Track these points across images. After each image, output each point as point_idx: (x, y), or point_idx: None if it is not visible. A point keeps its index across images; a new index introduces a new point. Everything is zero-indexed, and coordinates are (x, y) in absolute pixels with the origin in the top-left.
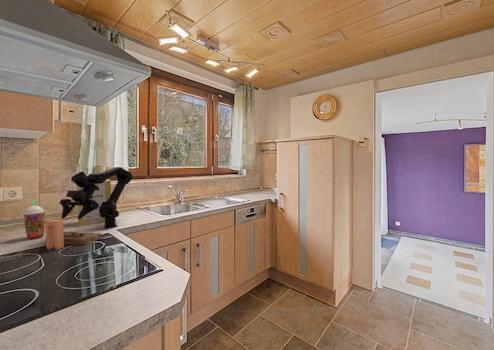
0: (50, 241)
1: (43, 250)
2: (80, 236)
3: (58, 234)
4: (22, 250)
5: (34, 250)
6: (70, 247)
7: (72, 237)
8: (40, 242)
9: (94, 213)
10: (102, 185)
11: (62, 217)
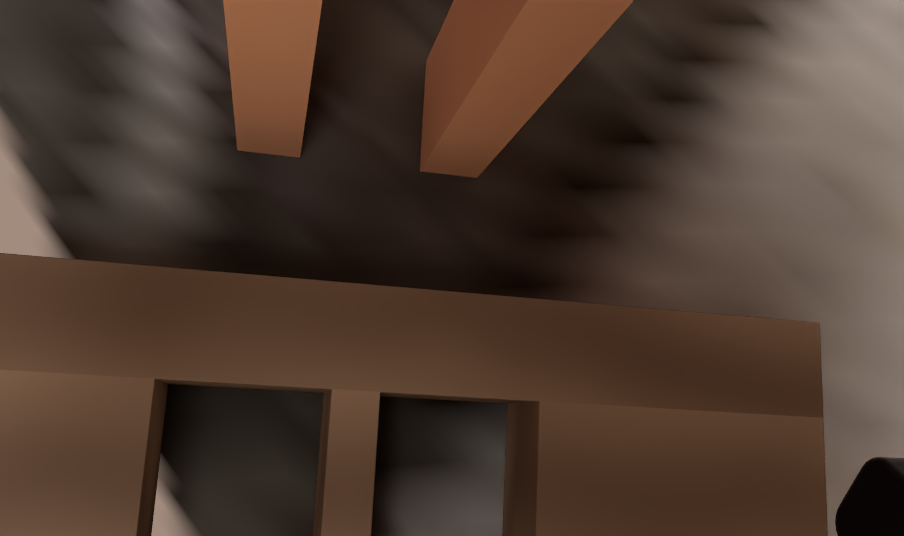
0: (454, 29)
1: None
2: (125, 486)
3: None
4: (786, 16)
5: None
6: (83, 130)
7: (327, 454)
8: (878, 361)
9: None
10: None
11: (875, 483)
